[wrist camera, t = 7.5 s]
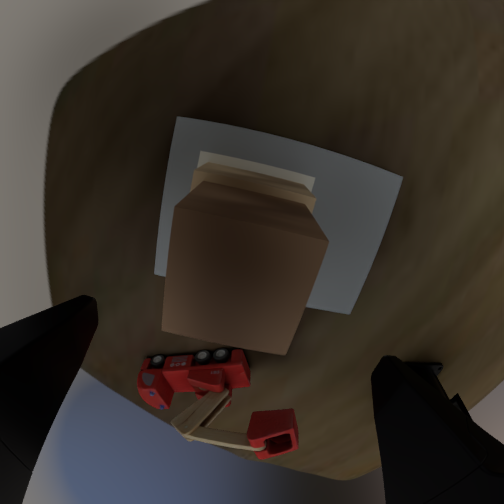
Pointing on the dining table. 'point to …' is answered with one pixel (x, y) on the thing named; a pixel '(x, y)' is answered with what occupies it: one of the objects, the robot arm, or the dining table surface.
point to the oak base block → (253, 183)
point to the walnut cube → (240, 267)
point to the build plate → (301, 171)
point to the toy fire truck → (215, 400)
